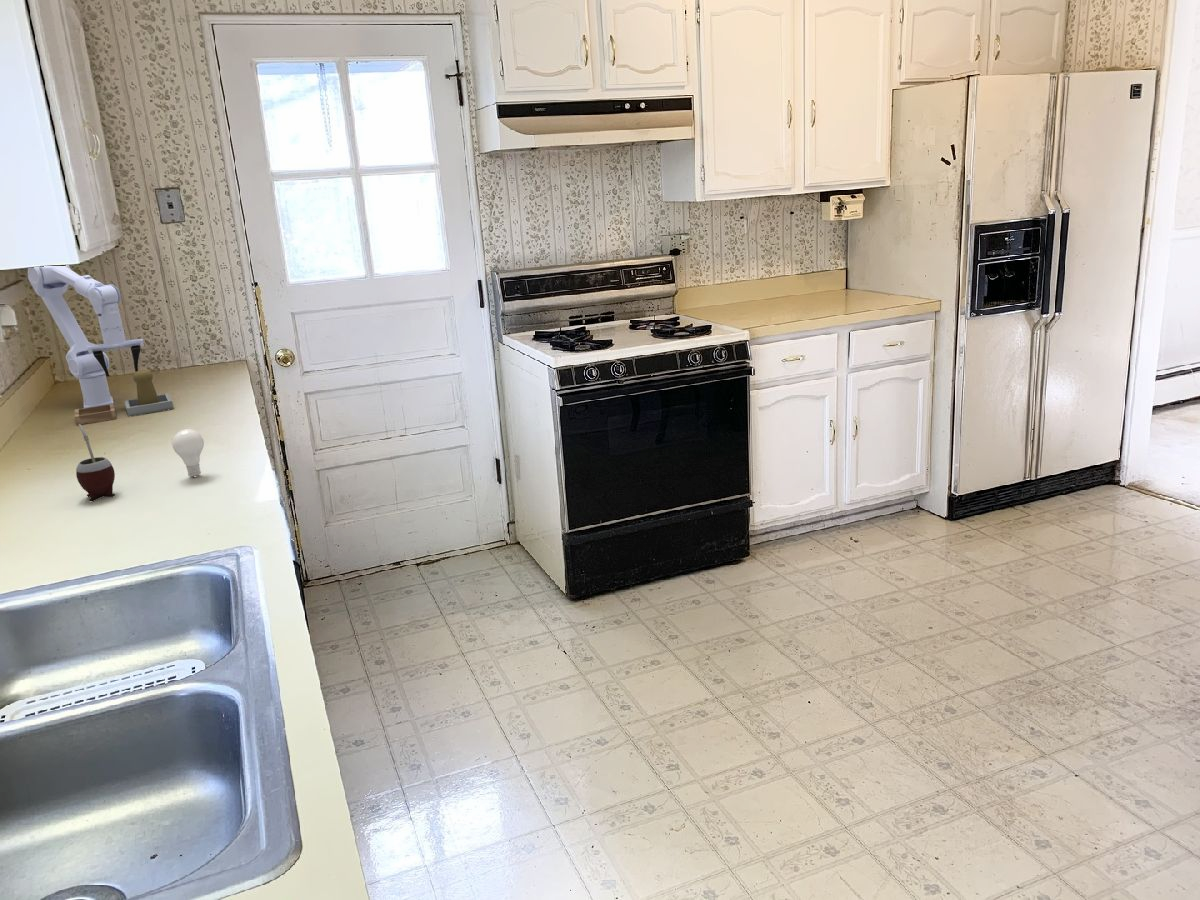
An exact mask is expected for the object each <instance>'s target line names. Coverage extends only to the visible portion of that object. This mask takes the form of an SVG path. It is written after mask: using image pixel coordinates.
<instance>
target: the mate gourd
mask: <svg viewBox="0 0 1200 900" xmlns="http://www.w3.org/2000/svg"><path fill="white" fill-rule="evenodd" d="M77 426H78V427H79V429H80V431H81V433H82V435H83V439H84V441H85V444H86V446H87V449H88V452H89V455H90V458H87V459H84V460H81V461H80V462H78V464H77V466H76V468H75V471H76V473H75V474H76V480H77V482H78V483H79V485H80V487H81V489H82V490H84V491H85V492H86V493H87V494H86V497H87V496H88V497H87V498H90V499H89V502H90V501H93V502H95V501H97V500H99V499H101V498H114V497H115V493H113V487H114V483H115V475H116V473H115V470H114V469H115V468H114V466H113V465H112V463H111V461H110V459H108V458H106V457H103V456H97V457H94V454H93V453H94V452H93V449H92V447H91V443H90V441H89V437H88V435H87V433H86V431H85V428H84V427H83V425H81V424H79V425H77ZM89 496H90V497H89ZM113 496H114V497H113ZM100 497H101V498H100ZM98 498H99V499H98ZM96 499H97V500H96ZM94 500H95V501H94Z"/></svg>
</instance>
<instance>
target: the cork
mask: <svg viewBox="0 0 1200 900" xmlns="http://www.w3.org/2000/svg"><path fill="white" fill-rule="evenodd" d="M132 378H133V381H134V383H136V384H135V385H136V394H137V398H138V406H140V405H146V404H152V403H159V399H158V396H157V395H158V394H157V391H156V389H155V386H154V383H153V378H154V374H153V372H152V371H151V370H148V369H141V370H140V369H139V370H138V371H137V372H133V374H132Z"/></svg>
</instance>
